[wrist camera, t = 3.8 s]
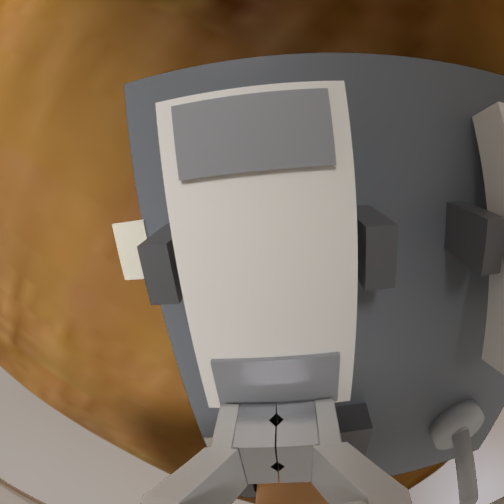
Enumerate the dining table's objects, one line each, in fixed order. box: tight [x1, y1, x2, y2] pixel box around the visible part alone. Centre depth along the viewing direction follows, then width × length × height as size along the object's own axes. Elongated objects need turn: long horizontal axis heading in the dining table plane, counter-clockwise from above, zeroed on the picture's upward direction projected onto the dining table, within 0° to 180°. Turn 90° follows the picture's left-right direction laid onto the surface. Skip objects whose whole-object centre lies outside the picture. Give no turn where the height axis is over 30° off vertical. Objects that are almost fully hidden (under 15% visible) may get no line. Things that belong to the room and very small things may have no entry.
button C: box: [255, 478, 329, 504], centre depth 10 cm, size 4×4×2 cm
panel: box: [112, 53, 504, 504], centre depth 10 cm, size 21×18×8 cm
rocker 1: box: [155, 81, 358, 408], centre depth 7 cm, size 8×4×2 cm, turn 6°
